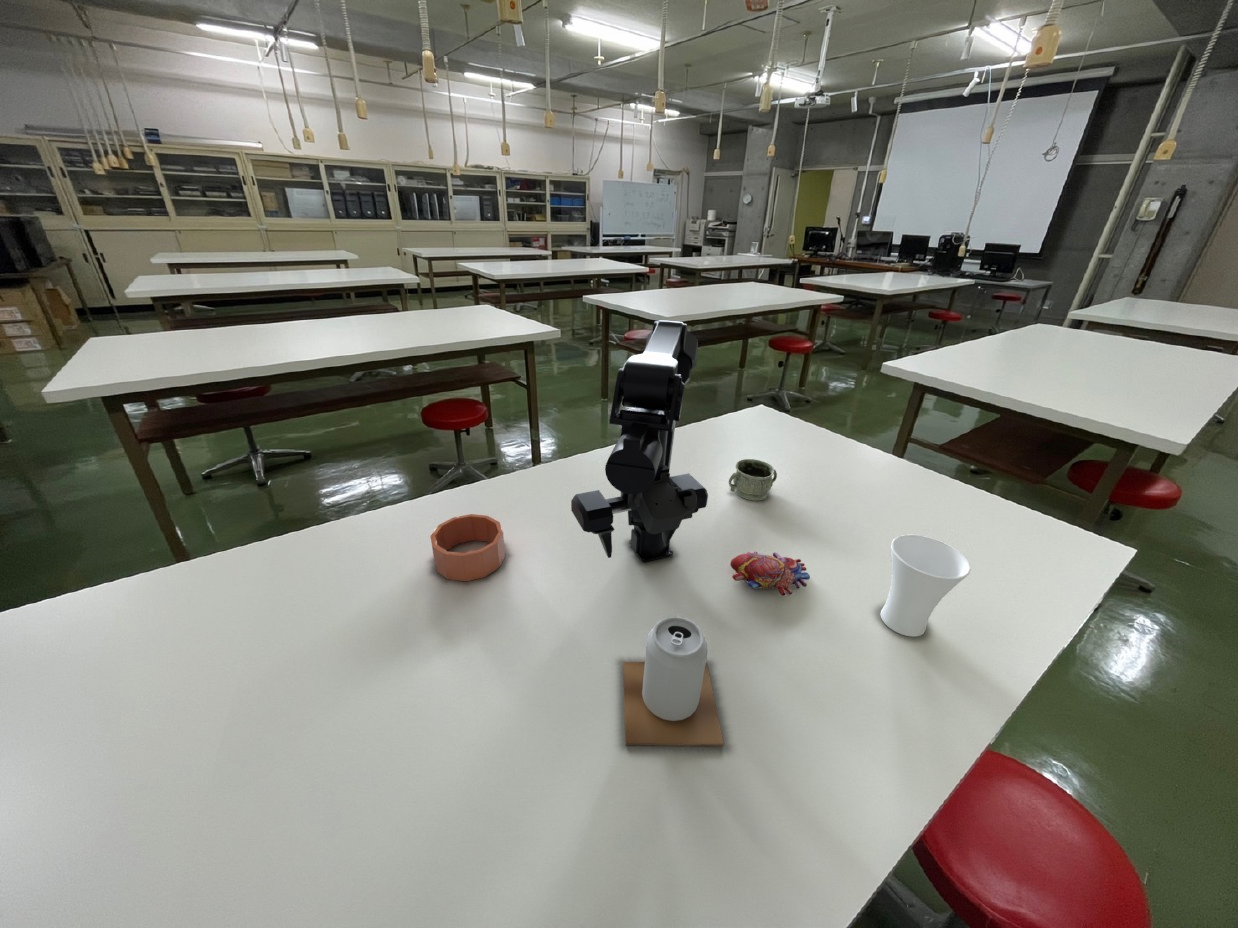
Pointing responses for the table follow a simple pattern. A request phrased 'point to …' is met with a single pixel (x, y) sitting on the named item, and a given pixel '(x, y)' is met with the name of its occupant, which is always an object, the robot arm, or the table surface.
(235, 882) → the table surface
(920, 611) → the cup
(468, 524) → the pot
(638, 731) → the wooden coaster
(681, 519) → the robot arm
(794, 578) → the anatomical model
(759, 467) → the vessel
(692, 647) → the can
